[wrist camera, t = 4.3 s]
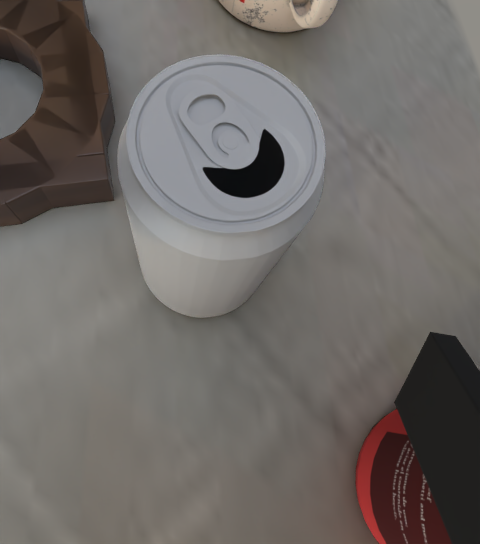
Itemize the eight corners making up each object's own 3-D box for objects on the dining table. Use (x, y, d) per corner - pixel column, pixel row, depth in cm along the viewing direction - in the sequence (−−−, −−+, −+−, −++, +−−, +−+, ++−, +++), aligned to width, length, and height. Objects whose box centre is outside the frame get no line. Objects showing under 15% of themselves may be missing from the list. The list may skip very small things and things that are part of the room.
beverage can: (189, 345, 23) (207, 294, 11) (115, 246, 24) (63, 104, 12) (285, 273, 25) (384, 166, 13) (213, 183, 25) (247, 7, 14)
